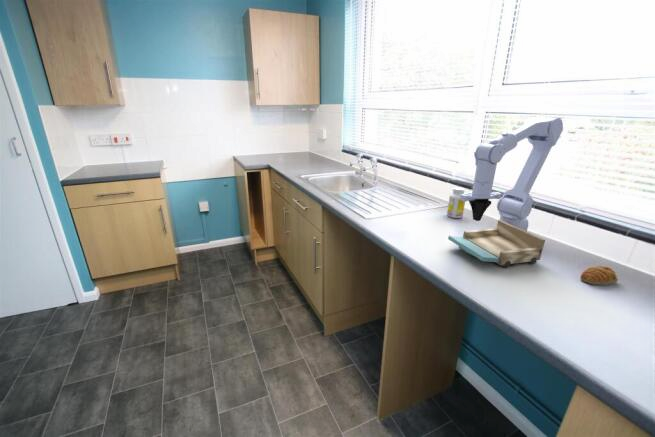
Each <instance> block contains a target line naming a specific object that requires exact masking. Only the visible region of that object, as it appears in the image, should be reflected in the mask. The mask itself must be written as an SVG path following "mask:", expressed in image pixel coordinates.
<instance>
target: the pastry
mask: <svg viewBox="0 0 655 437" xmlns="http://www.w3.org/2000/svg"><path fill="white" fill-rule="evenodd" d="M580 280H581V281H584V282H585V283H588V284H590V285H592V286H608V285H609V286H610V285H613V284H615V283H617V282H618V281H619V278H618V276H617V274H616V271H615V270H614V269H613V268H611V267H609V266H602V265H599V266H595V267H593V266H592V267H588V268H587V269H585V270H583V271H582V273H581V275H580Z"/></svg>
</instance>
